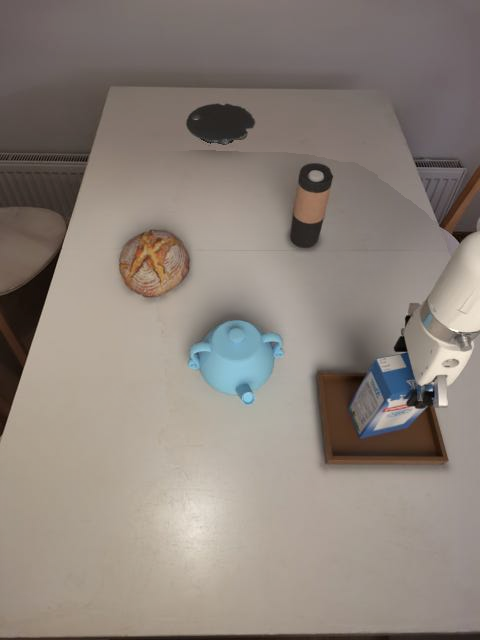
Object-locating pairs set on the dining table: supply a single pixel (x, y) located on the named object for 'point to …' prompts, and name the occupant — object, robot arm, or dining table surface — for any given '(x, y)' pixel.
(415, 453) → the tray
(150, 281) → the bread
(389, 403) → the milk carton
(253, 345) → the teapot
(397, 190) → the dining table surface
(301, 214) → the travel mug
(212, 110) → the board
